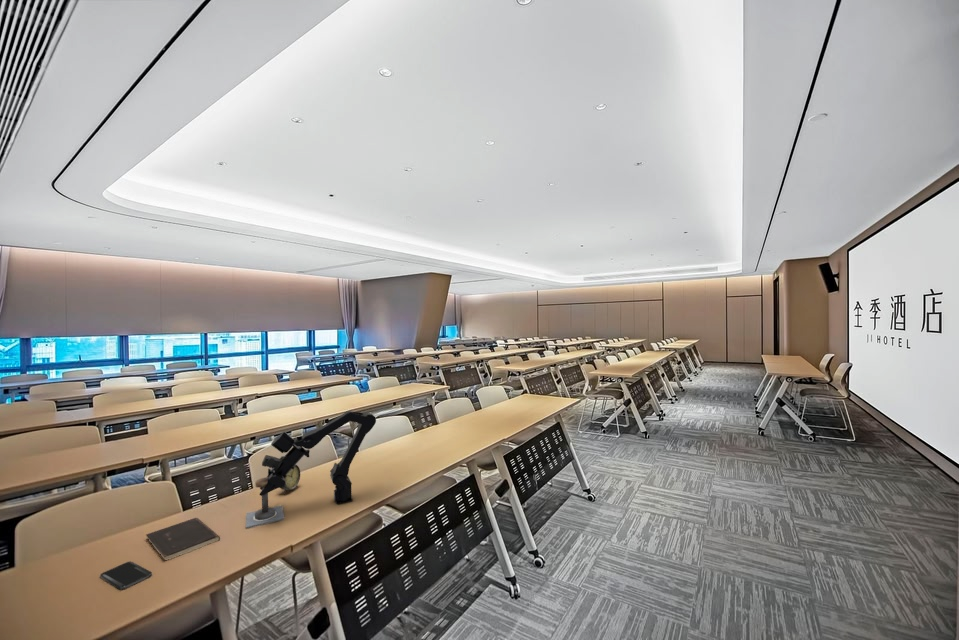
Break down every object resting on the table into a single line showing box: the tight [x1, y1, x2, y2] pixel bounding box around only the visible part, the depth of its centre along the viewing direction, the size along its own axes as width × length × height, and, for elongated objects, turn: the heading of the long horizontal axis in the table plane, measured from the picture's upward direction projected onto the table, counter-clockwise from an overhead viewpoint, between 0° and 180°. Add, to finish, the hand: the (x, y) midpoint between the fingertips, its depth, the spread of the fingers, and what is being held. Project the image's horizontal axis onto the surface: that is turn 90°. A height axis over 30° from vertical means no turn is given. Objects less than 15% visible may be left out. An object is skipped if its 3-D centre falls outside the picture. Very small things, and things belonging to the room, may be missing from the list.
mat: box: [245, 505, 285, 529], centre depth 158 cm, size 13×13×1 cm
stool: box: [255, 476, 275, 520], centre depth 158 cm, size 7×7×14 cm
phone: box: [99, 560, 153, 591], centre depth 122 cm, size 8×1×15 cm
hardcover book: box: [145, 517, 221, 561], centre depth 143 cm, size 16×23×2 cm
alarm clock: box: [281, 464, 301, 496], centre depth 183 cm, size 11×5×16 cm, turn 168°
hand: (260, 492), depth 158 cm, fingers open, 6 cm apart
